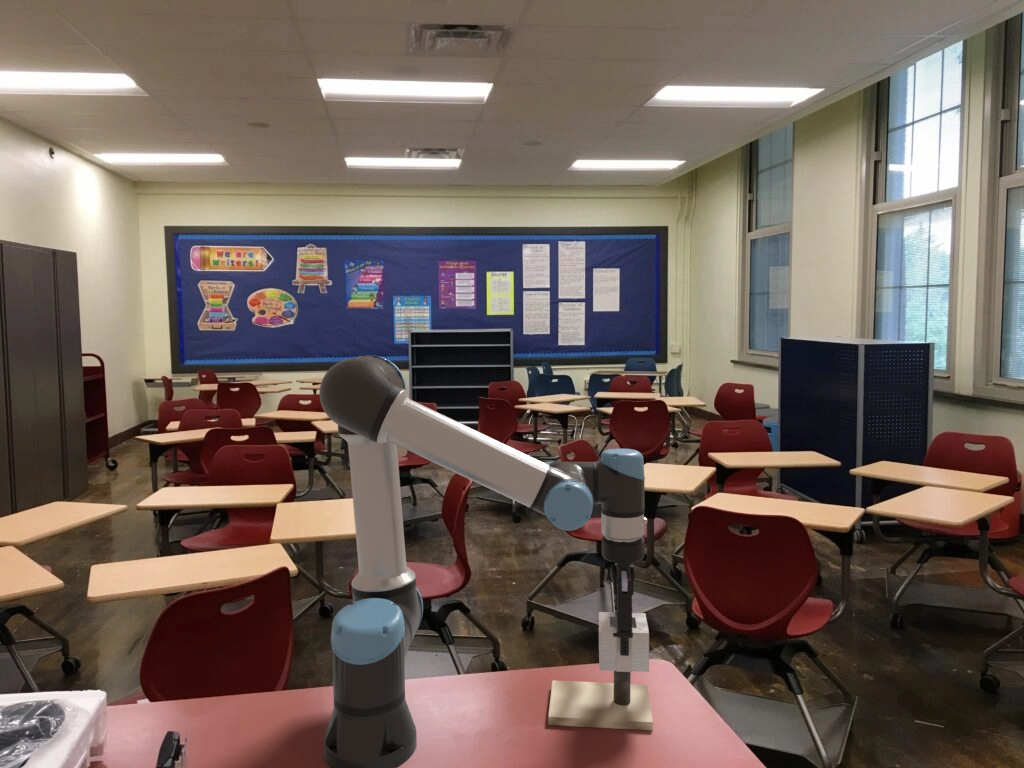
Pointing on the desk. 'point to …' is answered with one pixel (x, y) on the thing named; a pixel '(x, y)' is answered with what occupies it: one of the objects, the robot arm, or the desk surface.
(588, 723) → the board
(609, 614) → the gray cube
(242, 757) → the desk surface
